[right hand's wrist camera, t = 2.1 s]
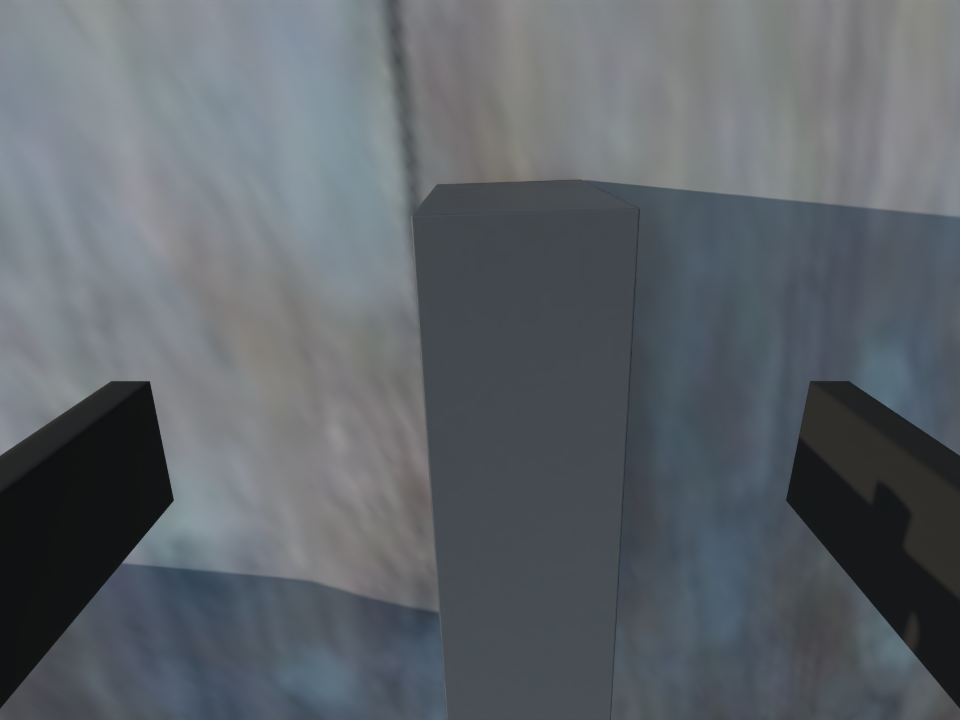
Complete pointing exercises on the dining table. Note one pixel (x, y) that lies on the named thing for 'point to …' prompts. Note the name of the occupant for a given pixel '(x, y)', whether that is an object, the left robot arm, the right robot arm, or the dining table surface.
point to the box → (526, 438)
